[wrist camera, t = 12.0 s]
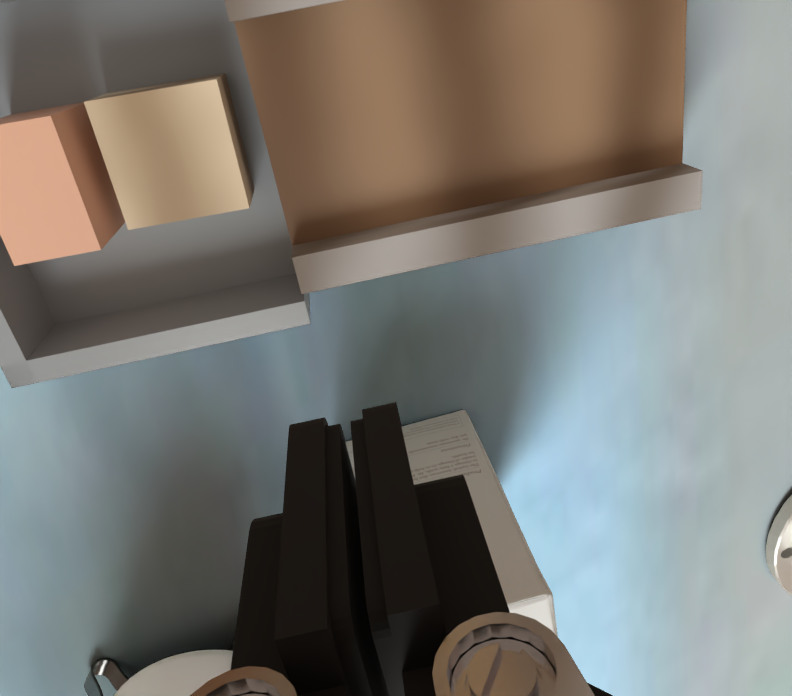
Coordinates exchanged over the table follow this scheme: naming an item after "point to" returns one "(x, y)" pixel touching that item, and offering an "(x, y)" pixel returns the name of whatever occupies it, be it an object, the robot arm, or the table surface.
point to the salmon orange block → (54, 186)
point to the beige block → (173, 150)
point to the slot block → (464, 124)
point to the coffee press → (162, 674)
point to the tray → (128, 249)
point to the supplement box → (480, 506)
